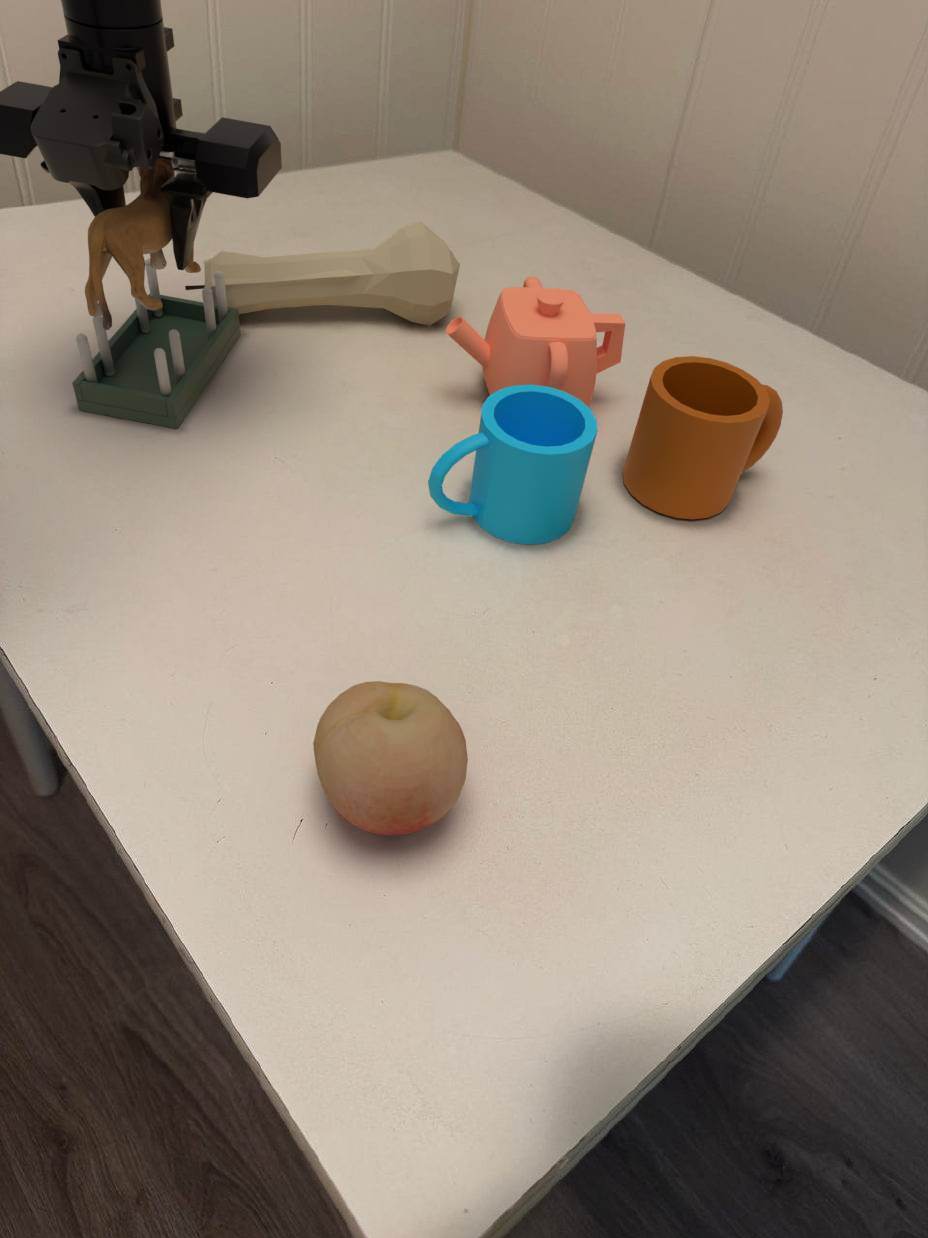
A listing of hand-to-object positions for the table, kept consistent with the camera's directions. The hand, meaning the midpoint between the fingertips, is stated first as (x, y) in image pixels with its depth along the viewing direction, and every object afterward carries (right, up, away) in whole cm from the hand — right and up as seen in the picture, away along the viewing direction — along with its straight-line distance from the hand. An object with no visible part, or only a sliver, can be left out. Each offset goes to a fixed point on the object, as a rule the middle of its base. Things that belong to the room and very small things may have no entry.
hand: (153, 262), depth 65 cm
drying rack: (-2, -5, +9) cm, 11 cm away
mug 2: (+42, -16, +6) cm, 45 cm away
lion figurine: (-1, -1, +1) cm, 2 cm away
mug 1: (+26, -18, +1) cm, 32 cm away
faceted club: (+10, +3, +18) cm, 21 cm away
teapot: (+28, -7, +12) cm, 31 cm away
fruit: (+19, -36, -16) cm, 44 cm away
